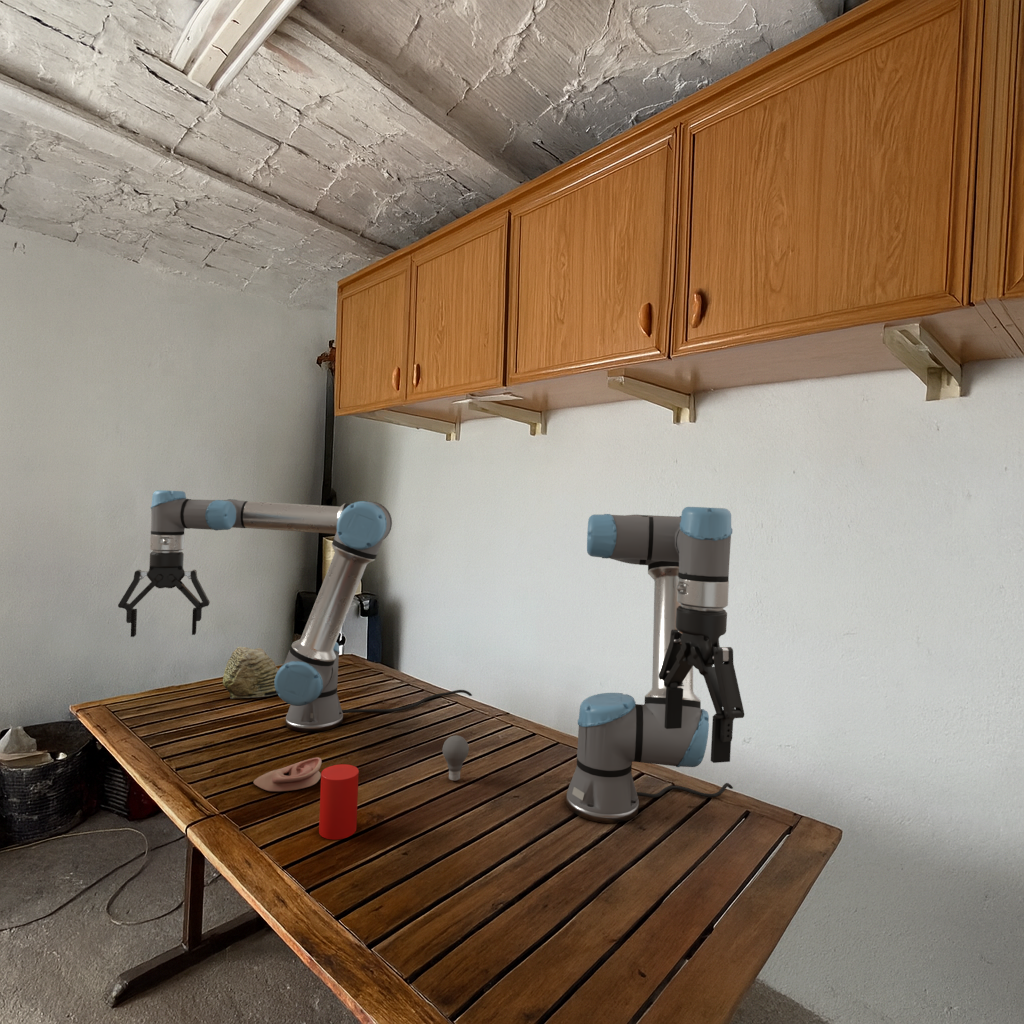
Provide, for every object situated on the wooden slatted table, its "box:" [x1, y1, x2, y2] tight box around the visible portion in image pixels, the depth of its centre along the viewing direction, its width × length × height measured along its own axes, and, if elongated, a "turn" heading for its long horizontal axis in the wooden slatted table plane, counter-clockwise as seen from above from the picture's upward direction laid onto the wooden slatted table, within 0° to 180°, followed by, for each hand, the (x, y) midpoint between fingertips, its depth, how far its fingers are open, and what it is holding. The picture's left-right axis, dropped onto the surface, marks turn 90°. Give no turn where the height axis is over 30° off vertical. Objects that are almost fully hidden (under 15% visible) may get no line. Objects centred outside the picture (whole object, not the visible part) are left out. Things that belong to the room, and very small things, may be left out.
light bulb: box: [442, 734, 470, 782], centre depth 144 cm, size 6×6×10 cm
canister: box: [318, 763, 360, 841], centre depth 121 cm, size 7×7×11 cm
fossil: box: [222, 646, 279, 699], centre depth 198 cm, size 9×18×15 cm, turn 132°
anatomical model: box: [253, 757, 323, 792], centre depth 140 cm, size 13×4×12 cm
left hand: (164, 634), depth 161 cm, fingers open, 13 cm apart
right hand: (694, 743), depth 98 cm, fingers open, 13 cm apart
